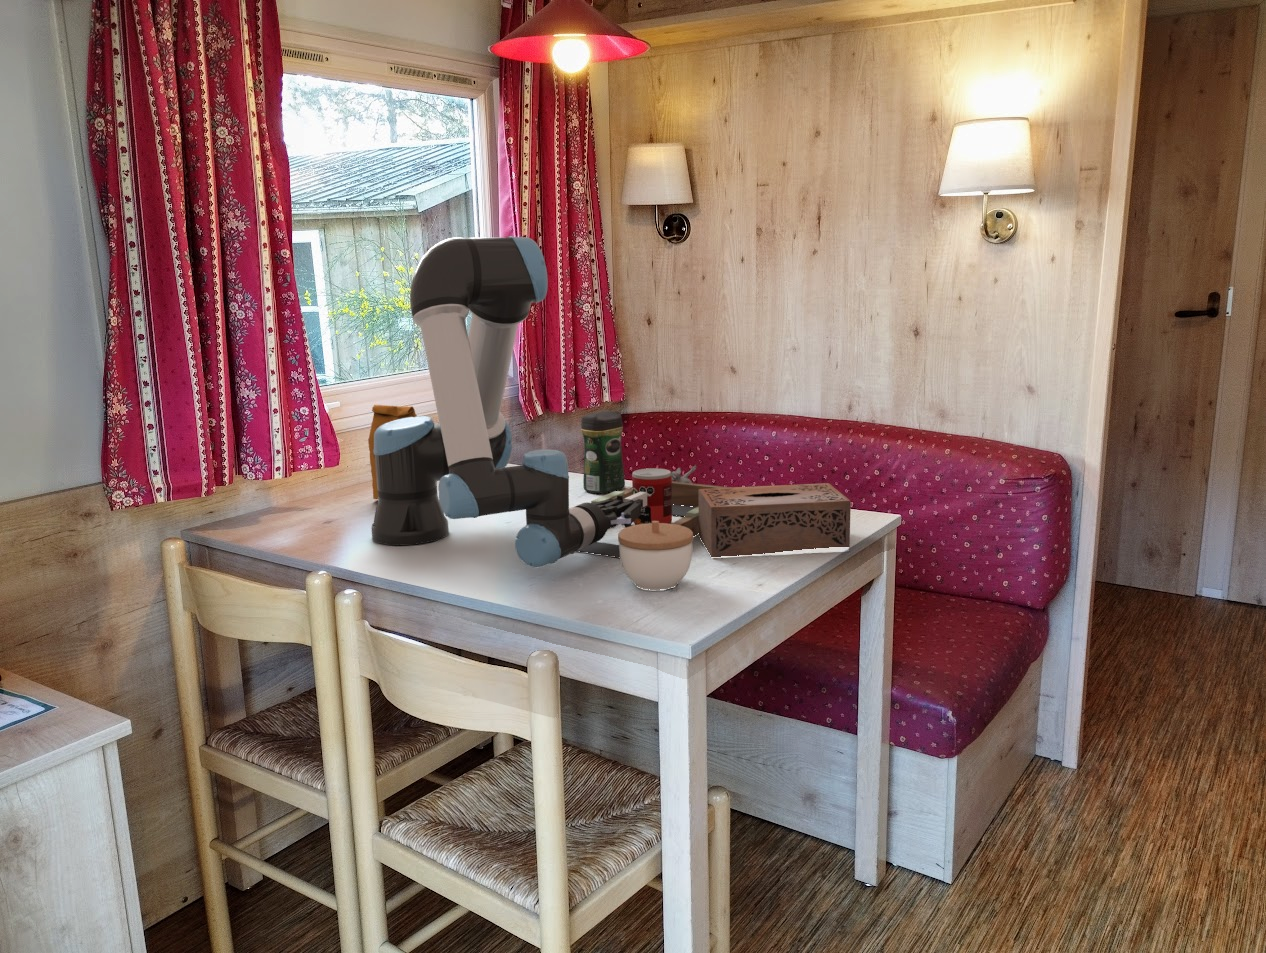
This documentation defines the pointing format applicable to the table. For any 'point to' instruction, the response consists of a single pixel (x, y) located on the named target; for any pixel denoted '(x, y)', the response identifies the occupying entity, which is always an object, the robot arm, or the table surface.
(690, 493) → the lane box
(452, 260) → the robot arm
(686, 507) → the pad
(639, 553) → the lidded bowl
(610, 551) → the near trap pad
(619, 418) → the coffee jar
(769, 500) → the tissue box cover
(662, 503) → the canned food
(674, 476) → the grey toy figurine
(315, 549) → the table surface
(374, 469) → the coffee package
